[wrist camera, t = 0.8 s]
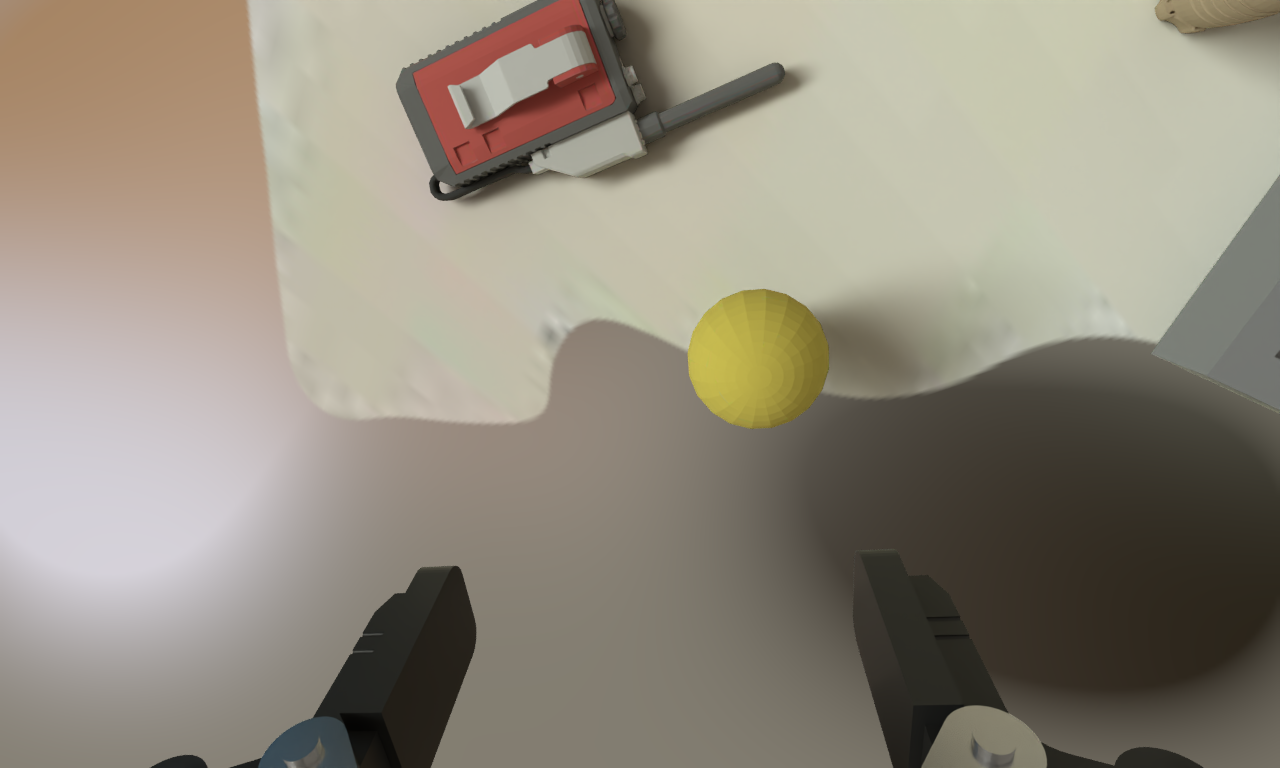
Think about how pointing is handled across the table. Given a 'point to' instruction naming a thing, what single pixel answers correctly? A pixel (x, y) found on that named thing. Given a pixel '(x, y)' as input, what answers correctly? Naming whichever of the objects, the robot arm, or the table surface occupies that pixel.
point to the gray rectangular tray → (1236, 314)
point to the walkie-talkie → (542, 98)
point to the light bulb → (758, 358)
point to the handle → (1213, 12)
